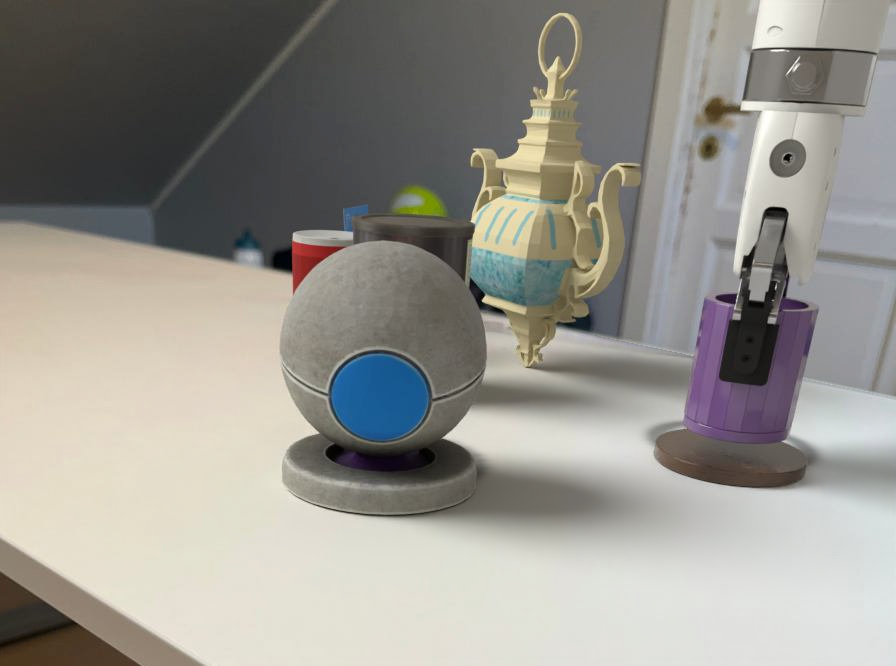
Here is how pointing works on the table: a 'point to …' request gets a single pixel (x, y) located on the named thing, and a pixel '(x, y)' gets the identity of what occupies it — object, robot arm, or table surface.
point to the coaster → (730, 460)
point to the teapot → (546, 218)
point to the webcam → (382, 380)
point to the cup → (740, 405)
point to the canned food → (315, 250)
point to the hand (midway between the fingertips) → (748, 369)
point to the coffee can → (421, 235)
